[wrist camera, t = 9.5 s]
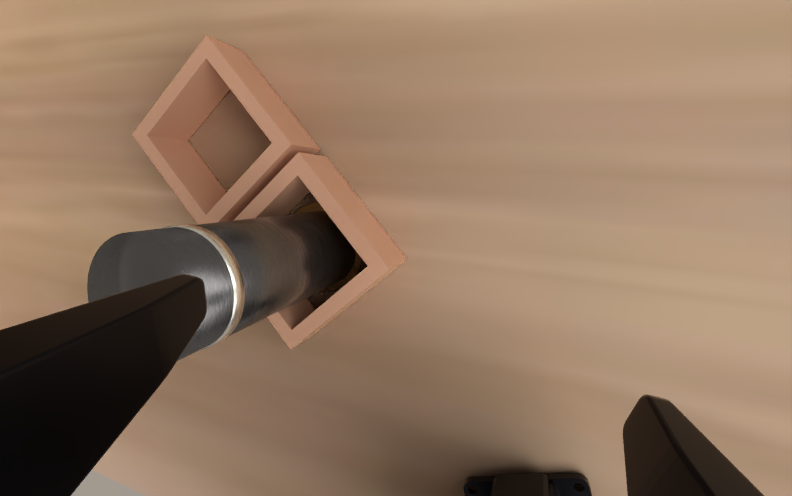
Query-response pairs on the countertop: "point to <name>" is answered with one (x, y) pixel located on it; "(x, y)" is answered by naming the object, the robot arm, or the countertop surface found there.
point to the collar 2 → (352, 222)
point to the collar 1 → (191, 105)
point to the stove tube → (229, 266)
